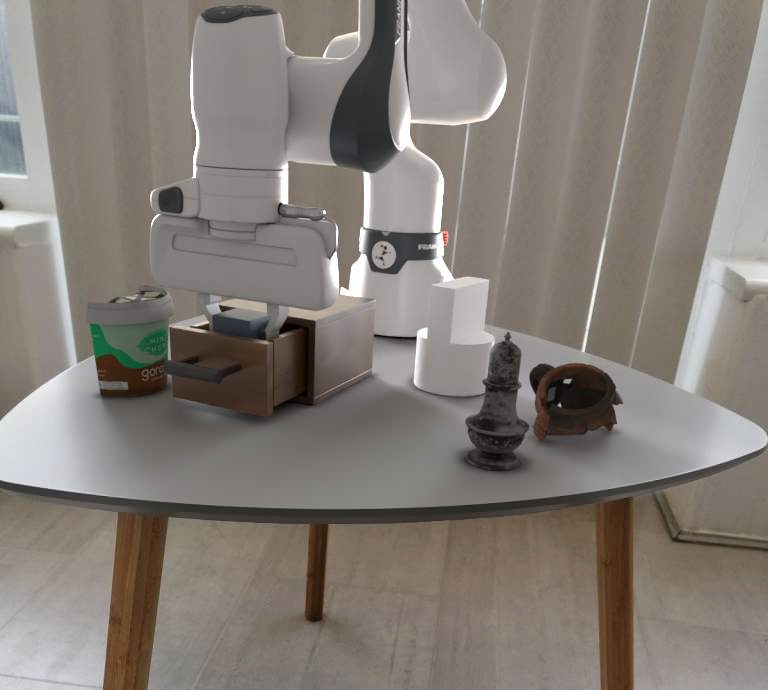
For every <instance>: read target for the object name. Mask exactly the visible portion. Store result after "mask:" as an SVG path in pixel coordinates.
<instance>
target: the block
mask: <svg viewBox="0 0 768 690" xmlns="http://www.w3.org/2000/svg"><path fill="white" fill-rule="evenodd" d="M271 316H272V315H268V314H267V313H266V312H260V311H254V310H248V309H241V308H235V309H232V310H228V311H225V312H221V313H218V314H214V315H212V322H213V332H218V333H224V334H230V335H235V336H241V337H247V338H252V339H258V340H259V337H258V330H259V329H263V328H265V327H267V325H268V323H269V321H270V319H271Z"/></svg>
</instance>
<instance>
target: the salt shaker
mask: <svg viewBox="0 0 768 690" xmlns="http://www.w3.org/2000/svg"><path fill="white" fill-rule="evenodd" d="M503 337H504V340H501V341H500V342H496V343H494V345H493V347H492V348H491V350H490V357H489V366H488V375H487V378H486V379H484V380H483V381H482V383H483V384H484V385H485V393H483V394H484V396H483V403H482V405H481V408H480V410H479V412H478V413H475V414H471V415H469V416H468V417H466V418H465V421H464V423H465V425H466V427H467V434H468V438H469V441H470V442H471V443H472V445H473V446H474V447H475V448H472V449H471V450H469V451H467V452H465V454H464V460H465V462H467V464H469V465H471V466H473V467H476V468H478V469H482V470H487V471H497V472H498V471H499V472H500V471H501V472H503V471H505V472H506V471H511V470H515V469H517V468H520V466H522V459H521V458H520V456H519V455H517V454H516V453H515V452H514V451H515V450H517V449H518V448H519V447H520V446H521V445H522V443H523V441H524V440H525V436H526V434H527V433H528V431H530V425H529V423H528V422H527V421H526V420H524V419H523V418H522V419H521V418H519V417H518V412H517V411H518V410H517V401H518V395H519V394H518V393H519V390H520V389H521V388H522V387H523V383H522V382H521V381H519V378H520V372H521V364H522V363H521V362H522V357H523V356H522V355H523V354H522V349H521V347H520V346H518V344H516V343H515V342H513V341H512V340H511V339H512V338H513V336H512V335H511V333H510V331H507V332H506V333H505V335H503Z"/></svg>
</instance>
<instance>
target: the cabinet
mask: <svg viewBox="0 0 768 690" xmlns="http://www.w3.org/2000/svg"><path fill="white" fill-rule="evenodd" d="M218 305H219V308H220V310H221V312H225V311H228V310H232V309H235V308H241V309H248V310H254V311H260V312H266V313H267V303H261V302H255V301H248V300H242V299H235V298H230V299H227V300H224V301H221V302H218ZM375 305H376V299H370V298H363V297H356V296H350V295H343V294H341V293H339V297H338V299H337V300H336V302H335V303H334V304H333V305H332V306H331V307H329V308H326V309H323V310H320V311H312V310H305V309H299V308H293V307H290V313H289V315H288V317H287V318H286V320H285V322H284V323H287V324H293V325H299V326H305V327H309V339H308V390H307V391H305V392H303V393H301V394H299V395H297V396H295V397H293V398H291V399H289V400H288V401H291V402H296V403H301V404H305V405H311V406H315V405H317V404H318V403H321V402H322V401H324V400H326V399H328V398H330V397H332V396H334V395H336V394H338V393H340V392H342V391H343V390H345V389H347V388H350V387H351V386H353V385H355V384H357V383H359V382H360V381H362V380H364V379H367V378H368V377H370V376H372V375H373V362H374V361H373V358H374V342H375V334H374V324H375Z"/></svg>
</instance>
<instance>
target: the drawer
mask: <svg viewBox="0 0 768 690" xmlns="http://www.w3.org/2000/svg"><path fill="white" fill-rule="evenodd" d="M308 339H309V327H305V326H299V325H293V324H287V323H283V325H282V327H281V329H279V335H278V336H275V337H272V338H270V339H267V341H264V340H258V339H252V338H247V337H241V336H235V335H230V334H224V333H218V332H213V331H209V321H208V320H206V321H202V322H198V323H195V324H191V325H190V326H184V325H179V324H178V325H177V324H176V325H172V326H169V349H170V359H168V360H166V361H165V362H164V363H163V372H164V373H165V374H167V375H168V376H171V388H172V391H171V392H172V398H175V399H180V400H184V401H190V402H193V403H199V404H204V405H208V406H212V407H218V408H221V409H226V410H231V411H236V412H240V413H245V414H250V415H254V416H260V417H265V418H268V417H270V416H272V415H273V414H274V407H276V406H279V405H281V404H282V403H284V402H286V401H290V400H289V399H291V398H293V397H295V396H297V395H299V394H301V393H303V392H305V391H307V390H308Z"/></svg>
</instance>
